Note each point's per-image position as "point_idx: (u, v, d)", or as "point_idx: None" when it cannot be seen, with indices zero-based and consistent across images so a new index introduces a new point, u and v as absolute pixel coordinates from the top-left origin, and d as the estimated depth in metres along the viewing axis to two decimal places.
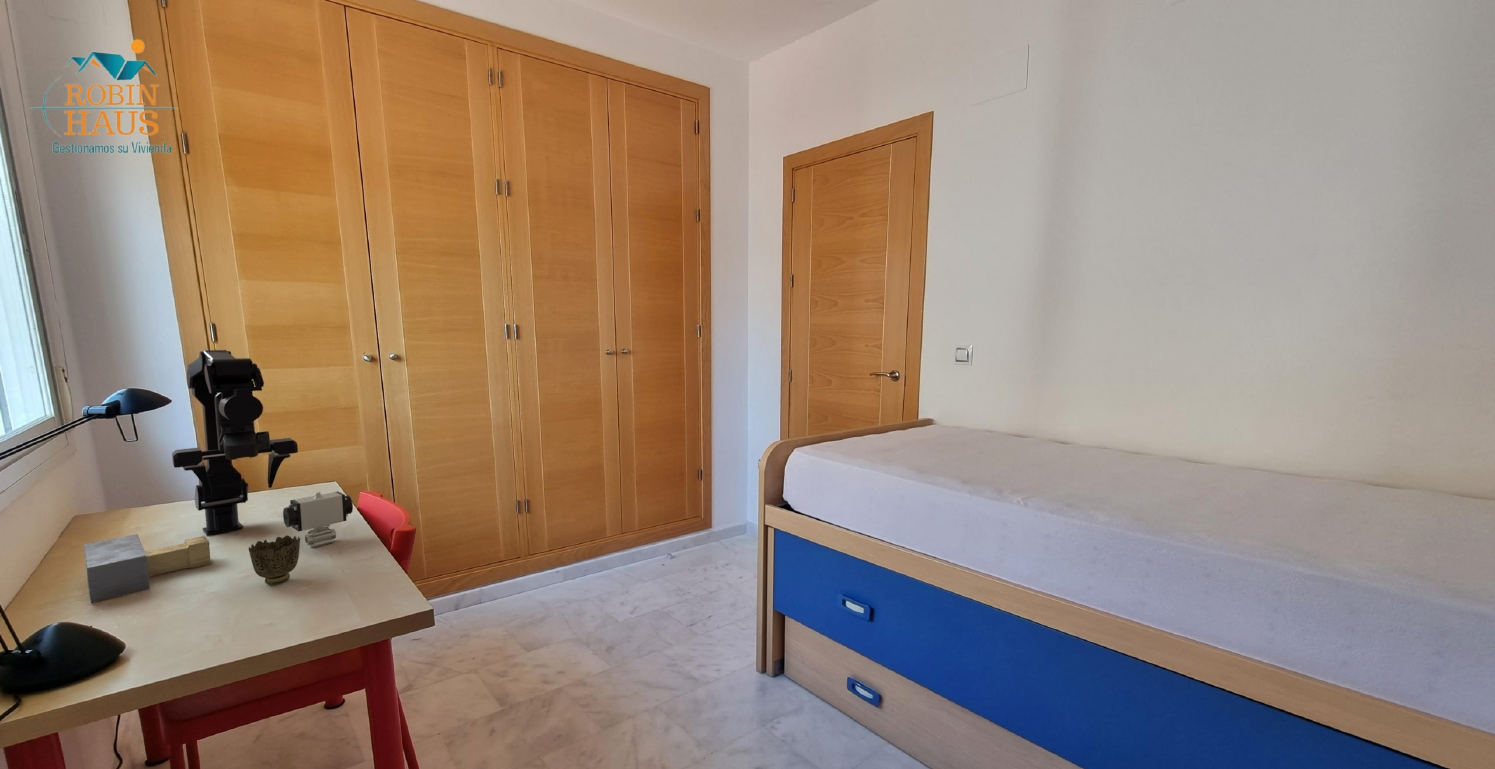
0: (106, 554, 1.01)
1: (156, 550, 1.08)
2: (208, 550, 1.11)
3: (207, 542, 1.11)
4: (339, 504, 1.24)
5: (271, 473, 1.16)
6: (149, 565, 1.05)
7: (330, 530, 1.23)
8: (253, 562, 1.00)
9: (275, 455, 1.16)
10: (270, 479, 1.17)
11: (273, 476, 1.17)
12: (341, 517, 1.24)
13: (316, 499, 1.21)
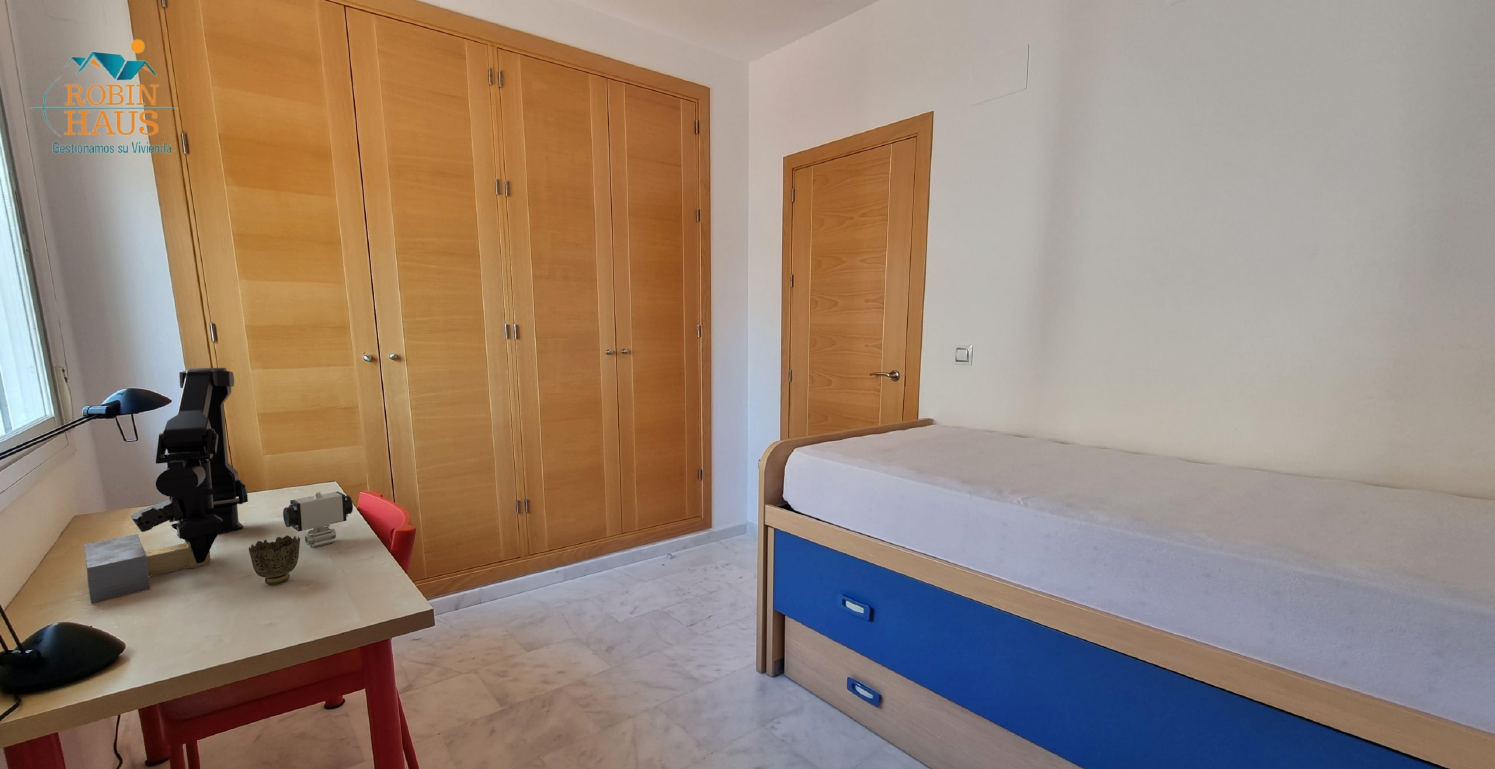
0: (106, 554, 1.01)
1: (156, 550, 1.08)
2: None
3: None
4: (339, 504, 1.24)
5: None
6: (149, 565, 1.05)
7: (330, 530, 1.23)
8: (253, 562, 1.00)
9: None
10: (193, 554, 1.10)
11: None
12: (341, 517, 1.24)
13: (316, 499, 1.21)
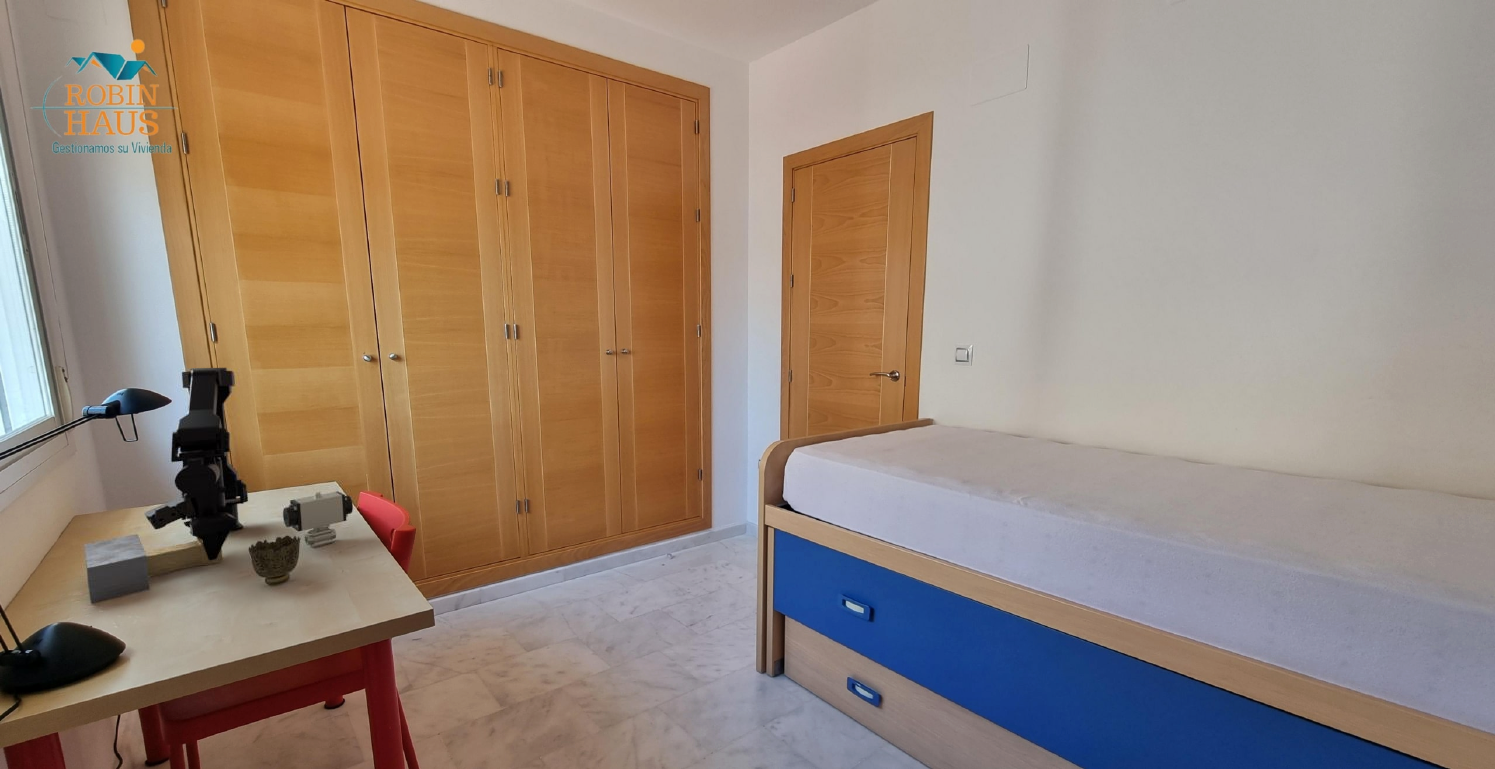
0: (106, 554, 1.01)
1: (169, 547, 1.09)
2: None
3: None
4: (339, 504, 1.24)
5: None
6: (163, 562, 1.07)
7: (330, 530, 1.23)
8: (253, 562, 1.00)
9: None
10: None
11: (205, 550, 1.11)
12: (341, 517, 1.24)
13: (316, 499, 1.21)
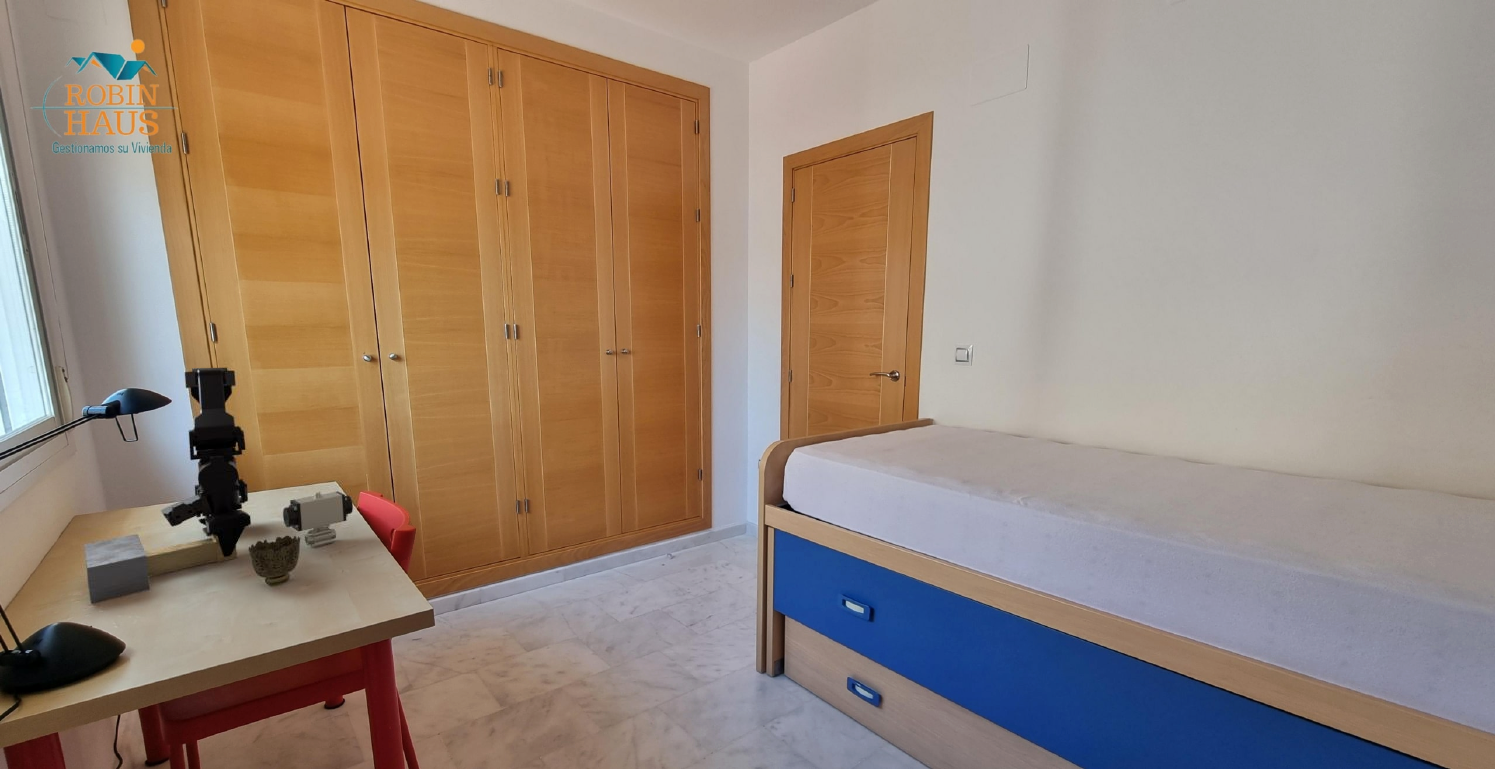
0: (106, 554, 1.01)
1: (185, 544, 1.11)
2: None
3: None
4: (339, 504, 1.24)
5: (219, 543, 1.12)
6: (179, 559, 1.09)
7: (330, 530, 1.23)
8: (253, 562, 1.00)
9: None
10: (221, 548, 1.13)
11: (220, 546, 1.12)
12: (341, 517, 1.24)
13: (316, 499, 1.21)
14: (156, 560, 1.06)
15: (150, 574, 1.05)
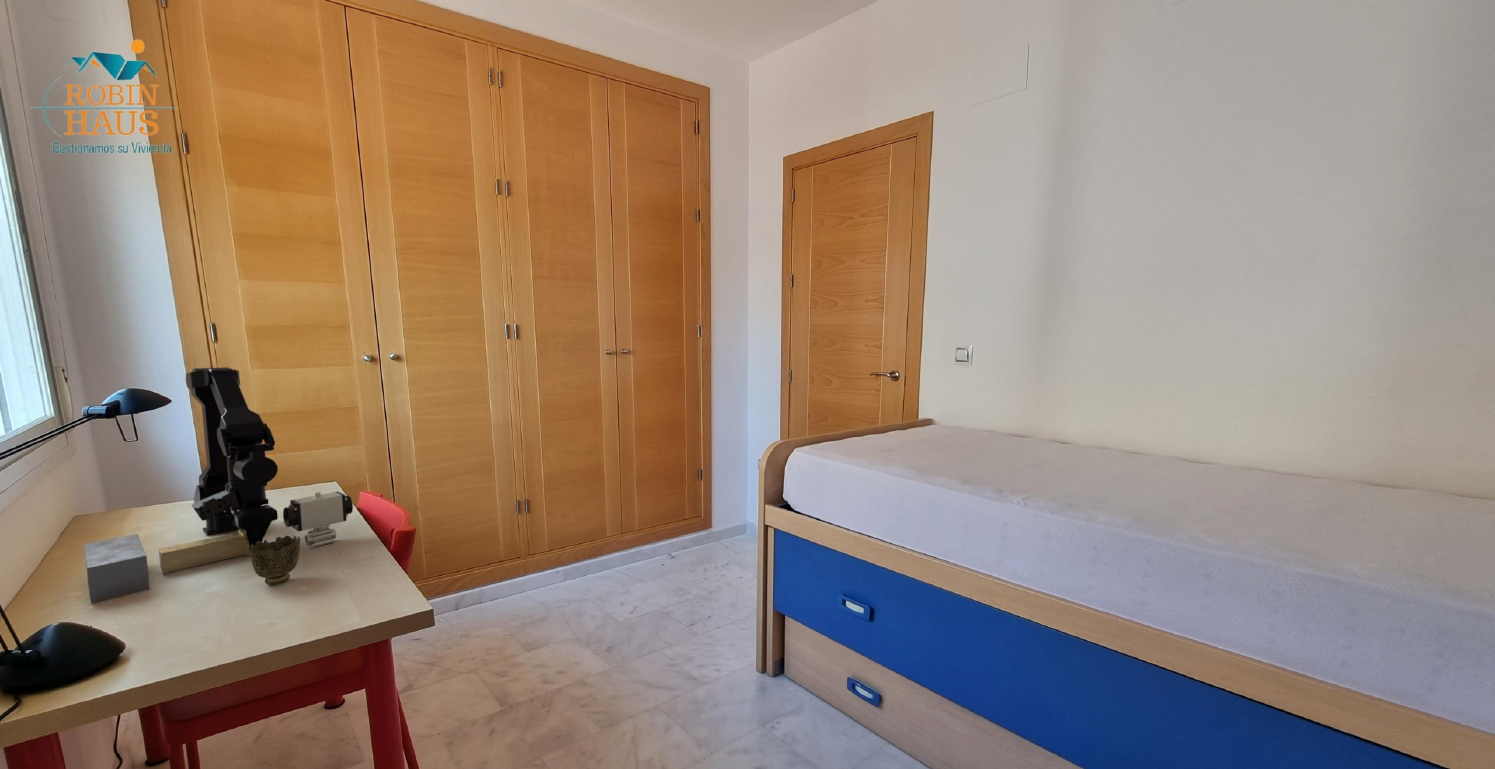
0: (106, 554, 1.01)
1: (213, 538, 1.15)
2: None
3: None
4: (339, 504, 1.24)
5: None
6: (208, 552, 1.12)
7: (330, 530, 1.23)
8: (253, 562, 1.00)
9: None
10: (248, 542, 1.16)
11: (248, 540, 1.16)
12: (341, 517, 1.24)
13: (316, 499, 1.21)
14: (187, 553, 1.09)
15: (181, 567, 1.09)
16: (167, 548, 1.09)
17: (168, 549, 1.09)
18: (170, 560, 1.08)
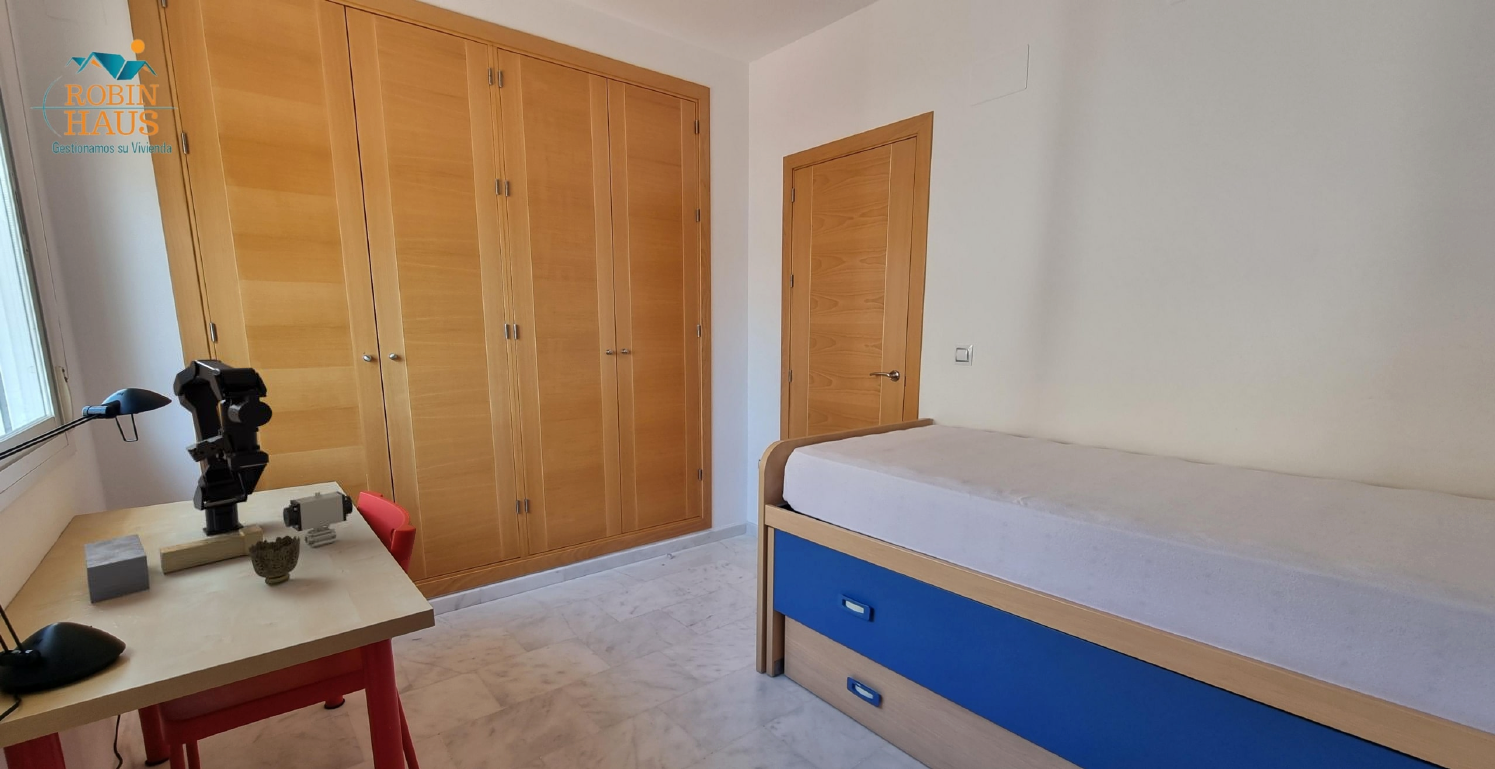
0: (106, 554, 1.01)
1: (214, 538, 1.15)
2: (262, 538, 1.18)
3: (261, 531, 1.18)
4: (339, 504, 1.24)
5: (241, 481, 1.19)
6: (209, 552, 1.12)
7: (330, 530, 1.23)
8: (253, 562, 1.00)
9: None
10: (242, 487, 1.19)
11: (242, 485, 1.19)
12: (341, 517, 1.24)
13: (316, 499, 1.21)
14: (187, 553, 1.09)
15: (182, 567, 1.09)
16: (168, 548, 1.09)
17: (169, 549, 1.09)
18: (171, 560, 1.08)
